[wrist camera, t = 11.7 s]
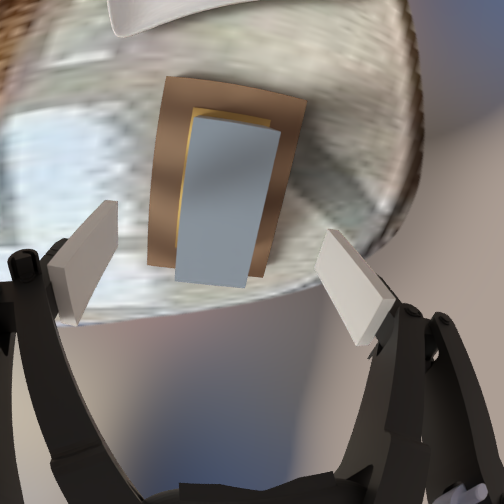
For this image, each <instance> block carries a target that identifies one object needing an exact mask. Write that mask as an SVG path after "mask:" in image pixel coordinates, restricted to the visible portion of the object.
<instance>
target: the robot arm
mask: <svg viewBox="0 0 504 504" xmlns="http://www.w3.org/2000/svg"><path fill="white" fill-rule="evenodd" d="M117 247H118V201H110V200H105V201H104V202H103V203H102V204H101V205H100V206H99V207H98V208H97V209H96V210H95V211H94V212H93V213H92V214H91V215H90V216H89V217H88V218H87V219H86V220H85V221H84V222H83V224H82V225H81V226H80V227H79V228H78V229H77V230H76V231H75V232H74V233H73V235H72V236H71V237H70V238H69V239H66V238H63V239H61V240H59V241H58V242H56V243H55V244H54V245H53V246H52V247H51V248H50V250H48V252H47V253H46V255H44V256H43V257H42V259H41V260H40V261H39V256H38V253H37V251H35V250H33V249H22V250H19V251H17V252H15V253H13V254H12V255H11V256H10V257H9V258H8V261H7V263H8V267H9V270H10V274H11V278H12V281H8V282H0V504H24V500H23V495H22V490H21V485H20V480H19V475H18V469H17V464H16V458H15V457H16V456H15V449H14V440H13V427H12V395H11V393H12V392H11V391H12V367H13V354H14V345H15V336H16V332H17V336H18V343H19V349H20V355H21V360H22V365H23V369H24V374H25V378H26V382H27V386H28V390H29V394H30V398H31V401H32V404H33V408H34V411H35V414H36V417H37V420H38V423H39V426H40V429H41V431H42V434H43V437H44V439H45V442H46V444H47V447H48V449H49V452H50V454H51V458H52V459H51V462H50V466H51V470H52V472H53V475H54V477H55V479H56V481H57V483H58V485H59V487H60V489H61V491H62V493H63V494H64V496H65V498H66V500H67V502H68V504H422V502H423V497H424V492H425V487H426V494H427V500H428V504H504V467H503V464H502V462H501V460H500V458H499V454H498V449H497V445H496V440H495V436H494V432H493V428H492V424H491V420H490V417H489V413H488V410H487V407H486V403H485V400H484V397H483V394H482V391H481V388H480V385H479V382H478V379H477V377H476V374H475V371H474V369H473V366H472V364H471V361H470V358H469V356H468V354H467V351H466V349H465V347H464V344H463V342H462V340H461V338H460V335H459V333H458V331H457V329H456V327H455V324H454V323H453V321H452V320H451V319H450V318H449V316H448V315H446V314H445V313H441V312H435V314H434V315H433V317H432V319H431V320H430V319H426V318H423V315H422V313H421V312H420V311H419V310H418V309H417V308H416V307H414V306H413V305H410V304H407V303H401V301H400V300H399V299H398V297H397V296H396V295H395V294H394V292H393V291H392V290H390V287H389V286H388V285H387V284H386V283H385V281H384V280H383V279H382V278H381V277H380V276H378V275H377V274H376V273H375V272H374V271H373V270H372V269H371V267H370V266H369V265H368V264H367V263H366V261H365V260H364V259H363V258H362V257H361V256H360V254H359V253H358V252H357V251H356V250H355V249H354V247H353V246H352V245H351V244H350V243H349V242H348V241H347V239H346V238H345V237H344V236H343V235H342V234H341V233H340V232H339V230H333V229H327V231H326V234H325V237H324V240H323V243H322V246H321V249H320V252H319V255H318V258H317V261H316V264H315V266H314V269H315V271H316V273H317V275H318V276H319V278H320V280H321V282H322V284H323V285H324V287H325V289H326V291H327V293H328V294H329V296H330V298H331V300H332V301H333V304H334V305H335V307H336V309H337V311H338V313H339V315H340V316H341V318H342V320H343V322H344V324H345V326H346V328H347V330H348V331H349V333H350V335H351V337H352V339H353V341H354V343H355V345H356V346H365V345H370V343H371V341H372V340H373V338H374V337H375V336H376V338H377V339H378V343H377V344H376V346H375V348H374V349H373V351H372V352H371V354H370V355H369V357H368V359H370V358H371V357H372V356H373V358H372V362H371V367H370V371H369V375H368V379H367V383H366V388H365V391H364V395H363V398H362V402H361V406H360V409H359V413H358V416H357V419H356V422H355V425H354V429H353V432H352V435H351V438H350V441H349V443H348V446H347V449H346V452H345V455H344V457H343V460H342V462H341V464H340V466H339V468H338V469H337V470H336V472H335V473H334V474H333V471H330V472H326V473H321V474H316V475H311V476H306V477H300V478H297V479H295V480H292V481H290V482H287V483H284V484H282V485H279V486H276V487H274V488H271V489H268V490H265V491H257V490H250V489H243V488H237V487H232V486H226V485H221V484H189V483H179V489H173V490H168V491H164V492H161V493H158V494H155V495H153V496H151V497H149V498H147V499H145V500H144V498H143V497H142V496H141V494H140V493H139V492H138V490H137V489H136V488H135V487H134V485H133V484H132V482H131V481H130V480H129V478H128V477H127V475H126V474H125V473H124V471H123V470H122V468H121V467H120V465H119V463H118V462H117V460H116V459H115V457H114V455H113V454H112V452H111V450H110V449H109V447H108V445H107V444H106V442H105V440H104V438H103V437H102V435H101V433H100V431H99V430H98V427H97V425H96V424H95V422H94V420H93V418H92V416H91V414H90V412H89V410H88V408H87V405H86V403H85V401H84V399H83V397H82V394H81V392H80V390H79V388H78V385H77V383H76V380H75V378H74V376H73V373H72V370H71V368H70V365H69V363H68V360H67V357H66V354H65V351H64V348H63V345H62V343H61V339H60V336H59V333H58V330H57V326H56V323H55V320H54V319H55V318H56V316H57V314H58V313H59V317H60V320H61V323H63V324H68V325H72V326H78V324H79V321H80V319H81V317H82V315H83V313H84V310H85V308H86V306H87V304H88V302H89V300H90V298H91V296H92V294H93V292H94V290H95V288H96V286H97V284H98V282H99V280H100V278H101V276H102V274H103V273H104V271H105V269H106V267H107V265H108V263H109V262H110V260H111V258H112V256H113V254H114V253H115V251H116V249H117ZM438 350H439V356H438V358H437V359H436V360H435V361H434V359H433V357H434V355H435V354H436V352H437V351H438ZM421 436H422V442H421Z"/></svg>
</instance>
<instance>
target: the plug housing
mask: <svg viewBox="0 0 504 504" xmlns="http://www.w3.org/2000/svg"><path fill="white" fill-rule="evenodd" d="M280 134H281V132H280V131H277V130H275V129H272V128H269V127H266V126H263V125H258V124H252V123H247V122H241V121H236V120H229V119H223V118H216V117H209V116H201V115H198V116H196V117H194V119H193V125H192V131H191V137H190V143H189V150H188V156H187V163H186V170H185V178H184V185H183V194H182V202H181V211H180V221H179V231H178V242H177V255H176V269H175V281H178V282H187V283H197V284H206V285H216V286H226V287H237V288H245V286H246V282H247V277H248V273H249V269H250V264H251V260H252V256H253V251H254V247H255V243H256V238H257V234H258V230H259V225H260V221H261V217H262V212H263V208H264V204H265V199H266V195H267V191H268V186H269V182H270V178H271V173H272V169H273V165H274V160H275V156H276V152H277V147H278V143H279V138H280Z"/></svg>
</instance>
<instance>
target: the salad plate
mask: <svg viewBox="0 0 504 504" xmlns="http://www.w3.org/2000/svg"><path fill="white" fill-rule="evenodd" d="M250 1H258V0H107V5H108V12H109V18H110V22H111V26H112V30H113V32H114V34H115V35H116V36H117V37H119V38H126V37H130V36H133V35H136V34H139V33H141V32H144V31H147V30H149V29H152V28H154V27H157V26H160V25H162V24H165V23H167V22H170V21H173V20H176V19H179V18H182V17H185V16H188V15H191V14H195V13H198V12H202V11H206V10H210V9H214V8H218V7H223V6H227V5H232V4H238V3H244V2H250Z"/></svg>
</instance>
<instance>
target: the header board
mask: <svg viewBox="0 0 504 504" xmlns="http://www.w3.org/2000/svg"><path fill="white" fill-rule="evenodd" d="M306 104H307V100H303V99H299V98H296V97H292V96H288V95H284V94H280V93H275V92H271V91H267V90H262V89H257V88H252V87H247V86H242V85H236V84H230V83H224V82H217V81H210V80H202V79H193V78H183V77H170V76H166V81H165V86H164V91H163V97H162V102H161V108H160V115H159V121H158V128H157V135H156V142H155V150H154V159H153V168H152V179H151V191H150V204H149V222H148V252H147V265H151V266H159V267H167V268H176V255H177V242H178V231H179V221H180V211H181V202H182V194H183V185H184V178H185V170H186V163H187V156H188V150H189V143H190V137H191V131H192V125H193V119H194V117H196V116H198V115H201V116H209V117H216V118H223V119H229V120H236V121H241V122H247V123H252V124H258V125H263V126H266V127H269V128H272V129H275V130H277V131H280V132H281V134H280V138H279V143H278V147H277V152H276V156H275V160H274V165H273V169H272V173H271V178H270V182H269V186H268V191H267V195H266V199H265V204H264V208H263V212H262V217H261V221H260V225H259V230H258V234H257V238H256V243H255V247H254V251H253V256H252V260H251V264H250V269H249V273H248V276H251V277H262V278H263V276H264V272H265V268H266V265H267V261H268V257H269V253H270V249H271V245H272V242H273V238H274V234H275V230H276V226H277V222H278V218H279V214H280V211H281V207H282V203H283V199H284V195H285V191H286V187H287V183H288V179H289V175H290V171H291V167H292V163H293V158H294V154H295V150H296V146H297V142H298V138H299V134H300V130H301V125H302V121H303V117H304V113H305V108H306Z"/></svg>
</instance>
